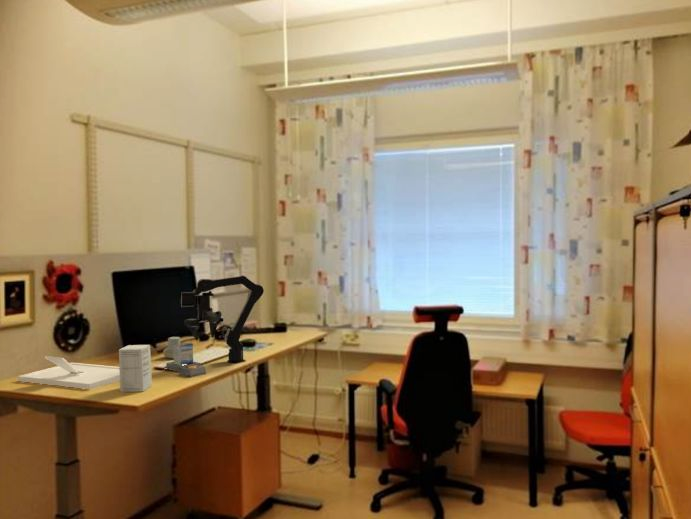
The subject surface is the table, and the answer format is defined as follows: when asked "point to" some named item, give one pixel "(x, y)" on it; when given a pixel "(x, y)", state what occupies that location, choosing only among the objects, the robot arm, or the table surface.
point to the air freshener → (171, 347)
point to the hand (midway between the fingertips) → (204, 338)
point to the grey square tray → (176, 367)
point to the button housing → (192, 371)
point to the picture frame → (73, 374)
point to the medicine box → (183, 353)
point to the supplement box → (135, 368)
